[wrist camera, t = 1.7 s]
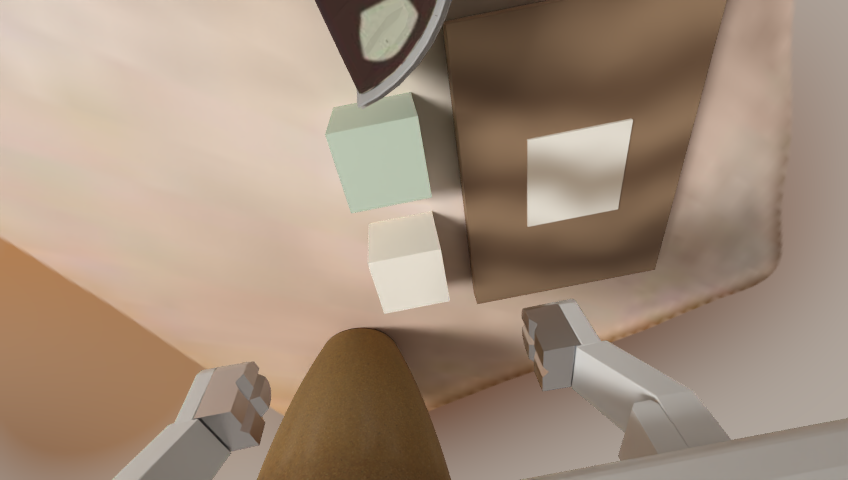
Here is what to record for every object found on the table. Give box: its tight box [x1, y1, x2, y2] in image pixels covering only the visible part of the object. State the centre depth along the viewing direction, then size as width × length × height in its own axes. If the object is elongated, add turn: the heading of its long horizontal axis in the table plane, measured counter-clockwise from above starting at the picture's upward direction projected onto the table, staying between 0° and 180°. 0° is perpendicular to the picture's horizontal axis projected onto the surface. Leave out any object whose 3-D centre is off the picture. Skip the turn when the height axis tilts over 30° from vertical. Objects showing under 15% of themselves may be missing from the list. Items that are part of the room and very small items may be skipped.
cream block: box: [368, 211, 450, 314], centre depth 29 cm, size 5×5×5 cm
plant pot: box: [257, 328, 451, 480], centre depth 31 cm, size 15×15×16 cm
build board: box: [443, 0, 727, 304], centre depth 27 cm, size 22×16×2 cm
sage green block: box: [325, 92, 432, 213], centre depth 23 cm, size 5×5×5 cm
